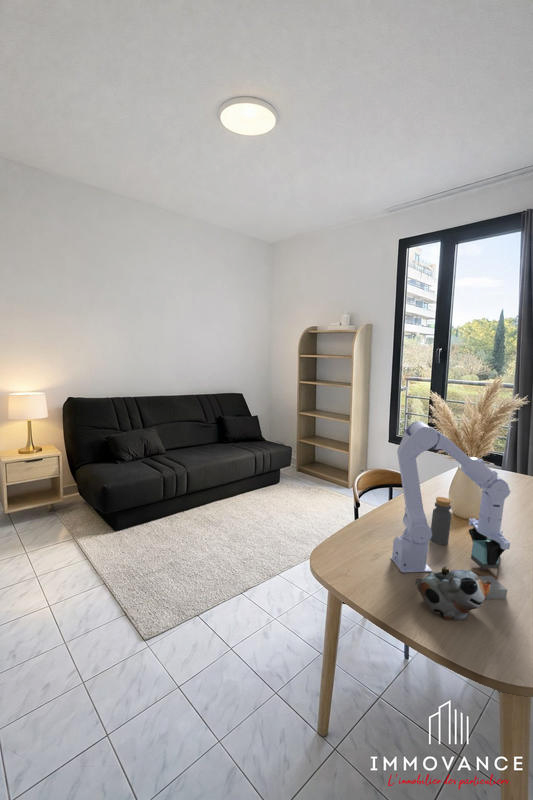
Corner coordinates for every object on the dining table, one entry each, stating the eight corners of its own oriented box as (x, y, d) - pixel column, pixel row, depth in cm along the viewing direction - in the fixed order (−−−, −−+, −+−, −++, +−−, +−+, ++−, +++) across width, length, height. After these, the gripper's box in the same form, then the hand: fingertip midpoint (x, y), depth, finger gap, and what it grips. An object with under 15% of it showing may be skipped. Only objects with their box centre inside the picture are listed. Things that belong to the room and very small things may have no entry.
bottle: (429, 541, 126) (433, 500, 124) (430, 534, 132) (434, 494, 129) (447, 546, 124) (452, 504, 122) (448, 538, 129) (453, 498, 127)
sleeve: (482, 568, 106) (484, 549, 105) (470, 558, 111) (473, 540, 110) (498, 568, 106) (500, 549, 106) (486, 558, 111) (488, 540, 111)
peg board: (495, 583, 104) (498, 559, 103) (467, 574, 108) (470, 550, 107) (499, 556, 119) (502, 534, 118) (475, 548, 123) (478, 528, 122)
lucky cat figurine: (446, 584, 103) (478, 553, 97) (473, 628, 93) (511, 597, 87) (405, 578, 98) (437, 545, 92) (430, 624, 88) (467, 591, 82)
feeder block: (485, 598, 98) (486, 590, 97) (470, 584, 103) (471, 576, 103) (506, 598, 98) (507, 589, 98) (490, 583, 104) (491, 575, 104)
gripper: (522, 527, 100) (516, 573, 102) (485, 505, 114) (480, 545, 116) (498, 528, 99) (492, 574, 101) (464, 505, 113) (459, 546, 115)
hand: (484, 559), depth 108 cm, fingers closed on sleeve, 5 cm apart
